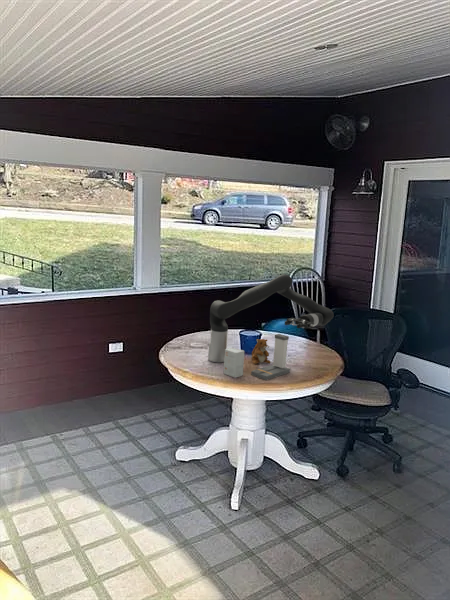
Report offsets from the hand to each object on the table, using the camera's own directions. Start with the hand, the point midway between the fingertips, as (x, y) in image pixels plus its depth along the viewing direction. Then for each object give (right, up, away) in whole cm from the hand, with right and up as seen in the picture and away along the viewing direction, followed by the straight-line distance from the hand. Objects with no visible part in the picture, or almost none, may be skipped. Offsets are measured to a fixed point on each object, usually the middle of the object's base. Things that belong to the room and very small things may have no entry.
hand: (291, 324), depth 264 cm
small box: (-31, -25, -11) cm, 42 cm away
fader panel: (-12, -25, -6) cm, 28 cm away
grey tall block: (-7, -22, -2) cm, 23 cm away
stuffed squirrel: (-16, -21, +15) cm, 31 cm away
